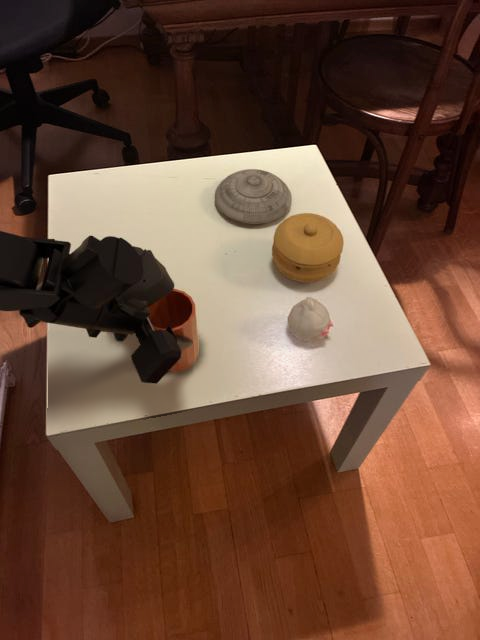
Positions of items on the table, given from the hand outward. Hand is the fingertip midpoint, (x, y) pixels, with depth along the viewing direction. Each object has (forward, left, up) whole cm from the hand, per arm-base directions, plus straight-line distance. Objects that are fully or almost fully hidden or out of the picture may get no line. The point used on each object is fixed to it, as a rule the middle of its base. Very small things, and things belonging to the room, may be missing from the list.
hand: (180, 323), depth 70 cm
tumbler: (-1, 0, -7) cm, 7 cm away
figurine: (+20, +2, -7) cm, 21 cm away
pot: (+21, +16, -7) cm, 27 cm away
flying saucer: (+13, +33, -7) cm, 36 cm away
